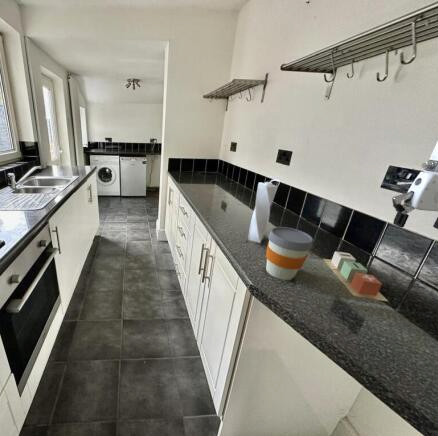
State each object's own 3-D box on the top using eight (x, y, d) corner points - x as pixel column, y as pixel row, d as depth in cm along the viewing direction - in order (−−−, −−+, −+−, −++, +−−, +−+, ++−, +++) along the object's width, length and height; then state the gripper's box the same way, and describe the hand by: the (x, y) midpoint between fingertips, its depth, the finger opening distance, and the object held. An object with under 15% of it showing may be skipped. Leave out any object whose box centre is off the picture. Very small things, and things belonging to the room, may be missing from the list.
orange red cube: (367, 286, 75) (372, 274, 73) (376, 296, 70) (382, 283, 69) (350, 284, 76) (355, 272, 74) (358, 293, 71) (364, 280, 70)
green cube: (354, 274, 81) (359, 263, 79) (362, 282, 77) (368, 270, 75) (339, 272, 82) (344, 260, 80) (346, 279, 78) (351, 268, 76)
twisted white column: (266, 239, 106) (281, 178, 96) (263, 245, 100) (279, 182, 90) (248, 234, 110) (261, 176, 100) (244, 240, 104) (258, 179, 94)
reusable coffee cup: (268, 258, 90) (278, 223, 84) (305, 273, 82) (318, 235, 76) (254, 270, 82) (264, 233, 77) (293, 288, 74) (307, 247, 68)
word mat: (348, 264, 89) (349, 262, 88) (387, 303, 69) (389, 301, 68) (321, 260, 90) (322, 258, 90) (352, 297, 71) (353, 295, 70)
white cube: (344, 263, 87) (349, 253, 85) (351, 270, 83) (356, 259, 81) (330, 261, 88) (335, 251, 86) (336, 268, 84) (341, 257, 82)
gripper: (418, 169, 59) (391, 229, 66) (506, 172, 56) (468, 236, 62) (397, 164, 66) (374, 219, 73) (474, 167, 62) (443, 225, 69)
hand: (418, 227), depth 67 cm, fingers open, 9 cm apart
